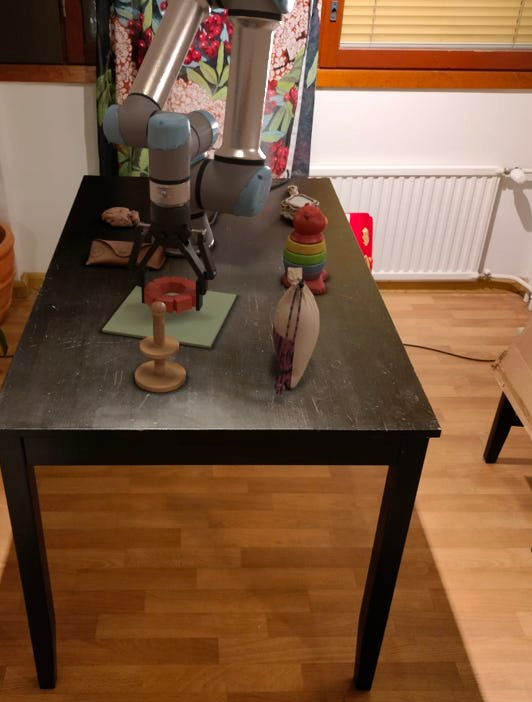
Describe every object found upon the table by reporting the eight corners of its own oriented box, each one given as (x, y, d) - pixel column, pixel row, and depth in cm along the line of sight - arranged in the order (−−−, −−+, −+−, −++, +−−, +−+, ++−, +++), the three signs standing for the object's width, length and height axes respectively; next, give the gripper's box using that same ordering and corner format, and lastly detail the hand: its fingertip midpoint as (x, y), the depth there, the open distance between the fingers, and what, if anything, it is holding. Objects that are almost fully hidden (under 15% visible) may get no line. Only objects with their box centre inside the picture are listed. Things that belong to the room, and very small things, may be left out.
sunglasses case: (83, 265, 164) (85, 236, 164) (91, 268, 171) (92, 240, 171) (160, 269, 163) (162, 240, 163) (164, 272, 170) (166, 244, 170)
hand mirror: (312, 181, 209) (327, 209, 183) (306, 201, 212) (320, 231, 185) (277, 173, 208) (287, 200, 182) (272, 192, 211) (280, 222, 184)
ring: (155, 284, 150) (155, 273, 149) (204, 291, 148) (204, 280, 147) (138, 308, 142) (137, 297, 140) (190, 316, 139) (190, 304, 138)
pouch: (274, 328, 142) (281, 239, 132) (315, 331, 141) (325, 242, 131) (265, 401, 121) (272, 302, 111) (313, 406, 120) (325, 307, 110)
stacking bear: (325, 295, 154) (333, 217, 144) (278, 290, 156) (284, 213, 146) (328, 274, 163) (336, 199, 153) (284, 269, 165) (289, 195, 155)
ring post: (144, 361, 131) (141, 286, 123) (191, 368, 130) (191, 293, 121) (127, 387, 124) (123, 311, 116) (177, 396, 122) (175, 318, 114)
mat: (139, 283, 158) (139, 281, 158) (236, 296, 153) (236, 294, 153) (102, 332, 140) (101, 329, 140) (210, 348, 135) (210, 346, 135)
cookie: (110, 212, 194) (109, 202, 192) (146, 217, 191) (146, 206, 189) (94, 225, 186) (93, 214, 184) (132, 231, 183) (131, 220, 181)
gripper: (104, 201, 133) (112, 305, 145) (225, 214, 128) (222, 320, 140) (119, 188, 139) (125, 288, 151) (235, 200, 134) (231, 303, 146)
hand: (172, 304), depth 146 cm, fingers closed on ring, 11 cm apart
